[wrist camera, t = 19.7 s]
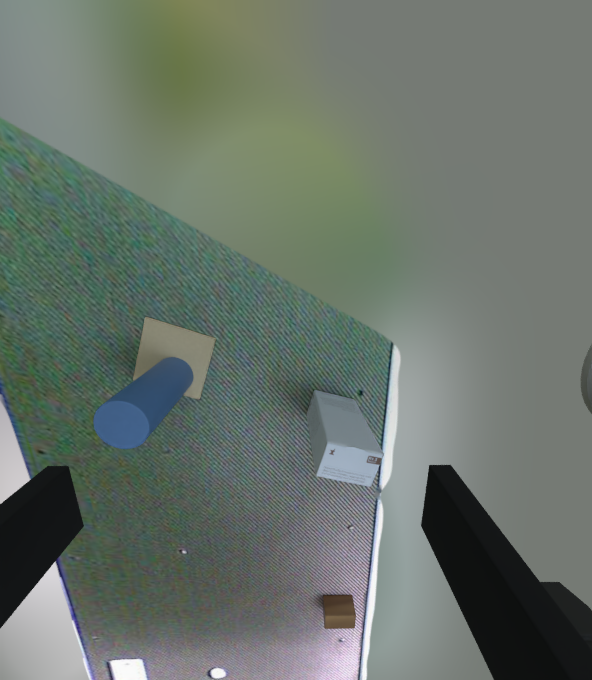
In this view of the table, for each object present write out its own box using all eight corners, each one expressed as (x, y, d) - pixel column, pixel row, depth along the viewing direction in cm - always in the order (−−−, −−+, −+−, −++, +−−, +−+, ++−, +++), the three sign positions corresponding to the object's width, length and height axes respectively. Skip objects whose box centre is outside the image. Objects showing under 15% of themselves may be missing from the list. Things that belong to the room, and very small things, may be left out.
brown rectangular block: (323, 595, 49) (325, 616, 46) (352, 594, 49) (355, 615, 46) (322, 607, 49) (324, 628, 47) (351, 607, 50) (354, 628, 47)
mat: (216, 338, 36) (215, 338, 36) (200, 398, 39) (199, 399, 38) (146, 316, 35) (145, 317, 35) (134, 379, 38) (132, 380, 37)
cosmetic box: (305, 415, 39) (311, 479, 28) (314, 386, 38) (324, 441, 27) (347, 424, 40) (370, 492, 28) (357, 397, 39) (385, 455, 27)
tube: (81, 421, 25) (122, 458, 26) (119, 390, 25) (160, 430, 26) (147, 371, 37) (174, 399, 38) (175, 349, 36) (201, 377, 37)
